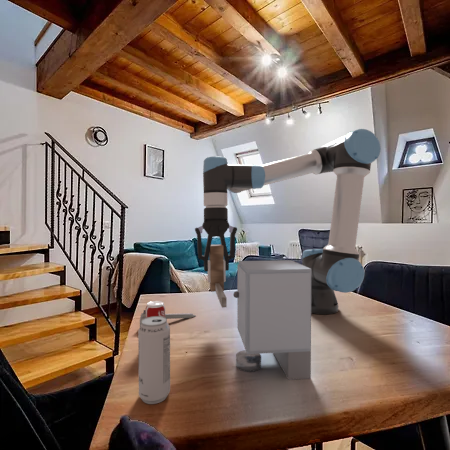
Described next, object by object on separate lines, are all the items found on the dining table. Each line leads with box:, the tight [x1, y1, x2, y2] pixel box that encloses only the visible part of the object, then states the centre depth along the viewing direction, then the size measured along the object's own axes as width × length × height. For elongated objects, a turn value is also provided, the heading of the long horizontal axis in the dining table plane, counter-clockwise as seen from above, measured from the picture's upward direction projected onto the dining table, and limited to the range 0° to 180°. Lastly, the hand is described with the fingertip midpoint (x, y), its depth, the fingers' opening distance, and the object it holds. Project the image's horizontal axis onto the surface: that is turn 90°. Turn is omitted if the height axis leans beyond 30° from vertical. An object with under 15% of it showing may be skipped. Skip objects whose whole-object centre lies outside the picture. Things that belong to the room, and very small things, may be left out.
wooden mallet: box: [208, 243, 227, 309], centre depth 82 cm, size 4×21×14 cm, turn 7°
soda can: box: [145, 300, 166, 318], centre depth 77 cm, size 5×5×12 cm
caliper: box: [139, 309, 197, 327], centre depth 96 cm, size 20×1×6 cm, turn 128°
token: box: [235, 349, 262, 373], centre depth 68 cm, size 6×6×2 cm
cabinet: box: [233, 259, 312, 381], centre depth 67 cm, size 16×13×24 cm
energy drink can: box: [137, 316, 171, 405], centre depth 56 cm, size 6×6×15 cm
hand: (216, 280), depth 90 cm, fingers closed on wooden mallet, 4 cm apart
